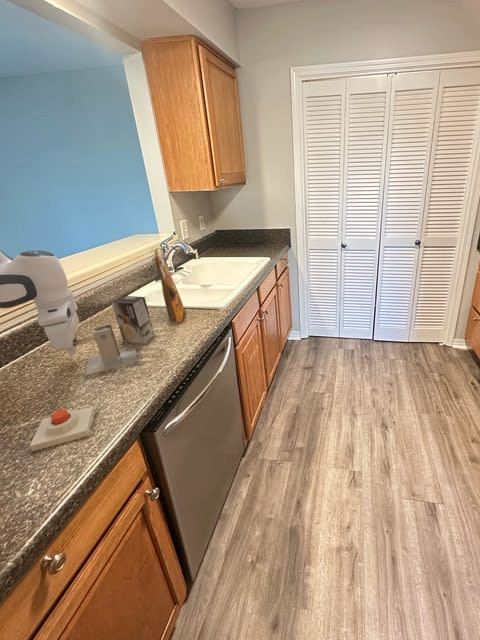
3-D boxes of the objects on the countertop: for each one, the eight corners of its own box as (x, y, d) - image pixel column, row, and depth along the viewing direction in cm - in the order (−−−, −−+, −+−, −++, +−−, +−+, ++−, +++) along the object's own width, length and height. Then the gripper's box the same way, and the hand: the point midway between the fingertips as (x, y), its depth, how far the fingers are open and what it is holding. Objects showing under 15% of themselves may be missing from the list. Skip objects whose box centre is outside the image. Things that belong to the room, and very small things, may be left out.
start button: (51, 426, 74) (48, 420, 73) (55, 417, 77) (52, 411, 76) (67, 422, 75) (65, 416, 74) (71, 413, 78) (68, 407, 77)
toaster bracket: (86, 379, 96) (72, 341, 91) (90, 361, 105) (77, 326, 100) (137, 365, 102) (127, 329, 97) (136, 349, 111) (127, 316, 106)
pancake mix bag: (165, 328, 125) (148, 258, 114) (169, 309, 142) (154, 246, 131) (183, 325, 126) (168, 255, 115) (185, 307, 143) (172, 244, 132)
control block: (32, 451, 72) (26, 440, 70) (44, 424, 79) (39, 413, 78) (88, 436, 75) (83, 424, 74) (95, 411, 83) (91, 400, 81)
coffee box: (156, 336, 119) (146, 296, 112) (144, 345, 113) (133, 303, 107) (135, 335, 121) (123, 295, 115) (122, 343, 115) (110, 302, 109)
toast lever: (70, 353, 95) (65, 346, 94) (72, 346, 99) (68, 339, 98) (110, 337, 98) (106, 331, 97) (110, 331, 102) (107, 324, 101)
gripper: (51, 297, 99) (67, 337, 104) (36, 323, 82) (55, 369, 87) (75, 293, 101) (89, 332, 107) (65, 317, 84) (82, 362, 90)
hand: (74, 348), depth 97 cm, fingers closed on toast lever, 5 cm apart
